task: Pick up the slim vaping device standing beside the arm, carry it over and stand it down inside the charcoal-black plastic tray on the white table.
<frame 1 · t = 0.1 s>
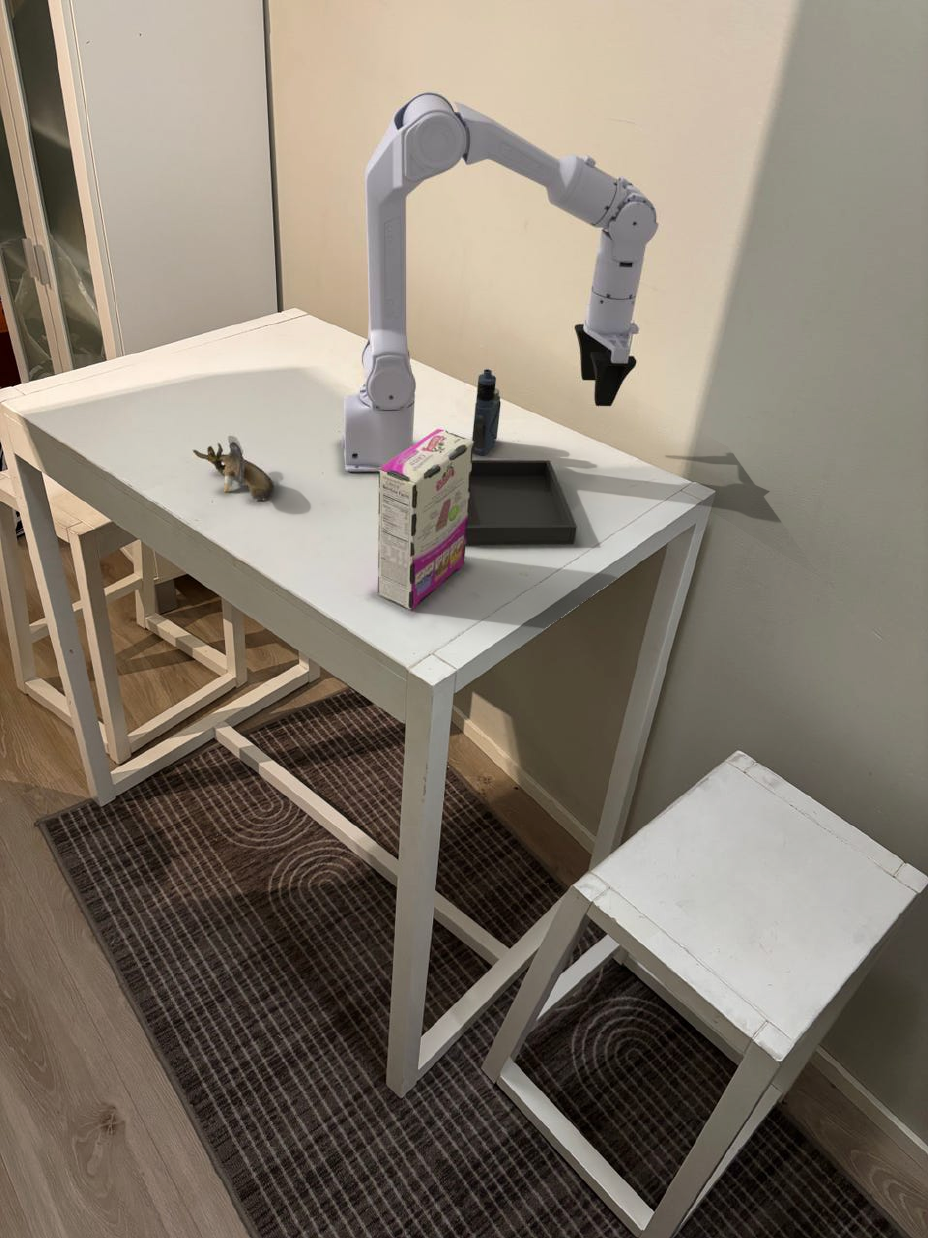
hand: (596, 391, 129), 10 cm above the table, tool pointing down, fingers open, 7 cm apart
antlered animal figurine: (239, 487, 122), on the table
vaping device: (483, 448, 135), on the table
candy bar box: (420, 581, 110), on the table
tray: (506, 508, 123), on the table
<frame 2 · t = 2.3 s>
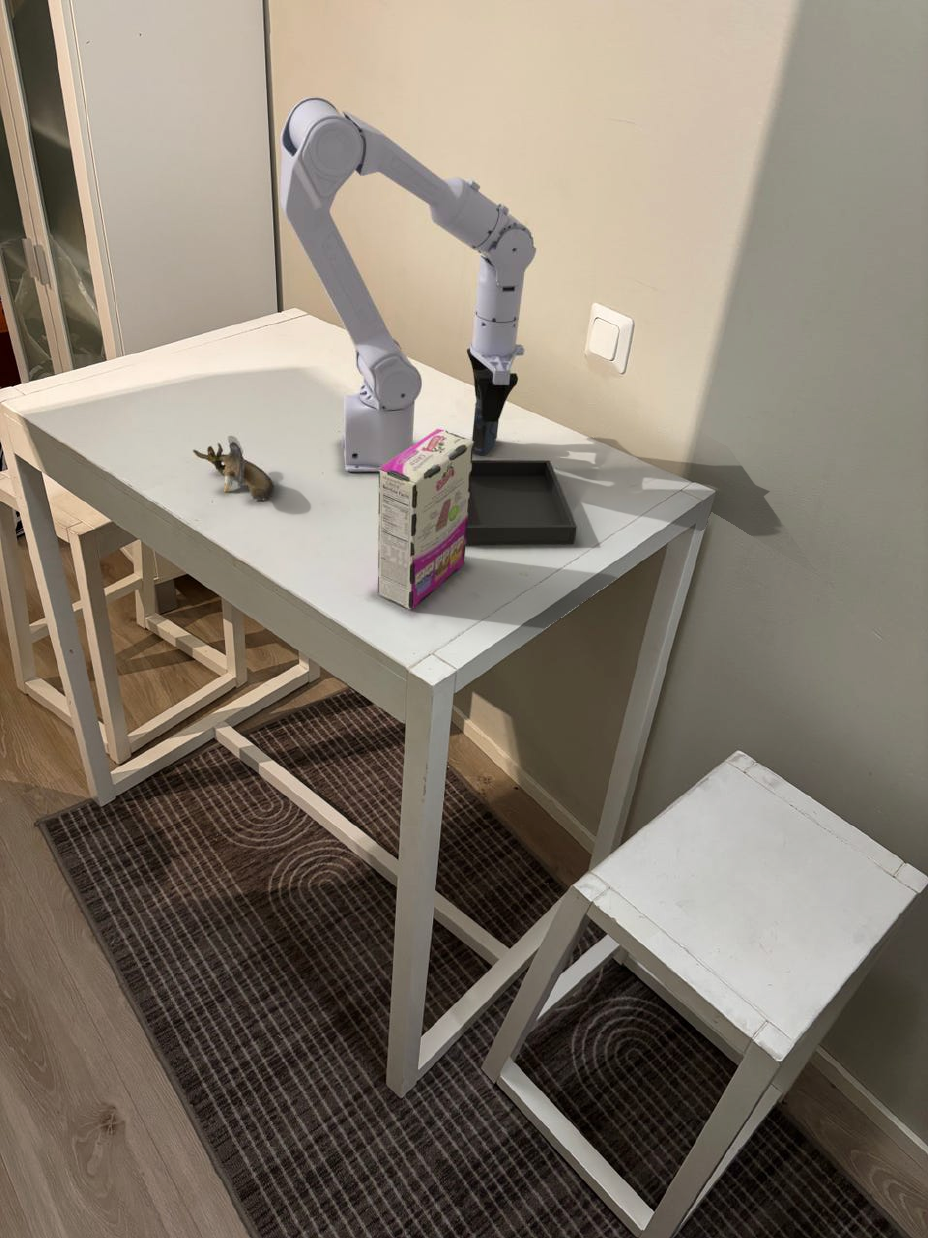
hand: (487, 411, 132), 6 cm above the table, tool pointing down, fingers closed on vaping device, 5 cm apart
vaping device: (483, 448, 135), on the table, touching gripper
everything else where it was.
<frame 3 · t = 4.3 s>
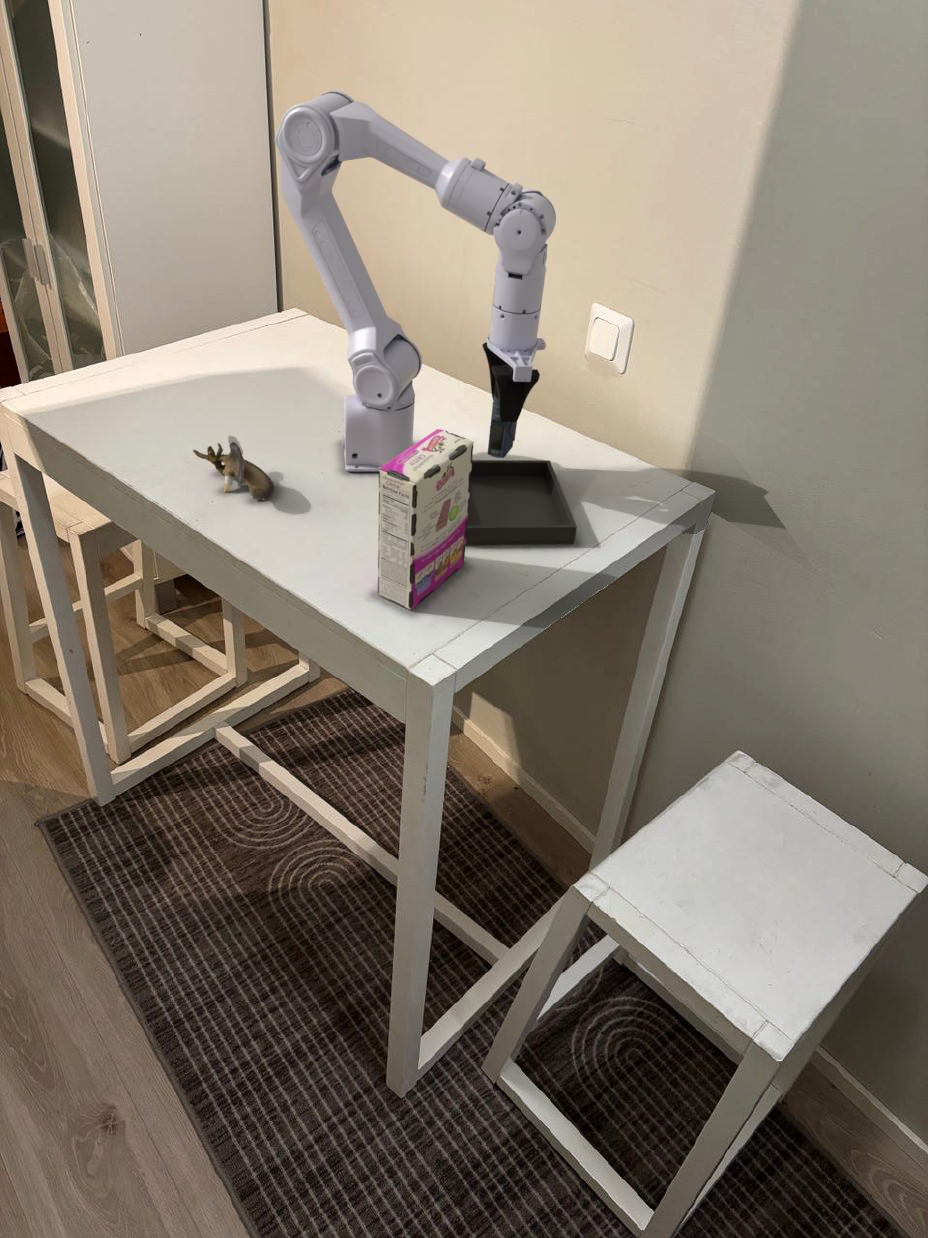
hand: (504, 410, 121), 10 cm above the table, tool pointing down, fingers closed on vaping device, 5 cm apart
vaping device: (500, 451, 125), point 5 cm above the table, touching gripper
everything else where it was.
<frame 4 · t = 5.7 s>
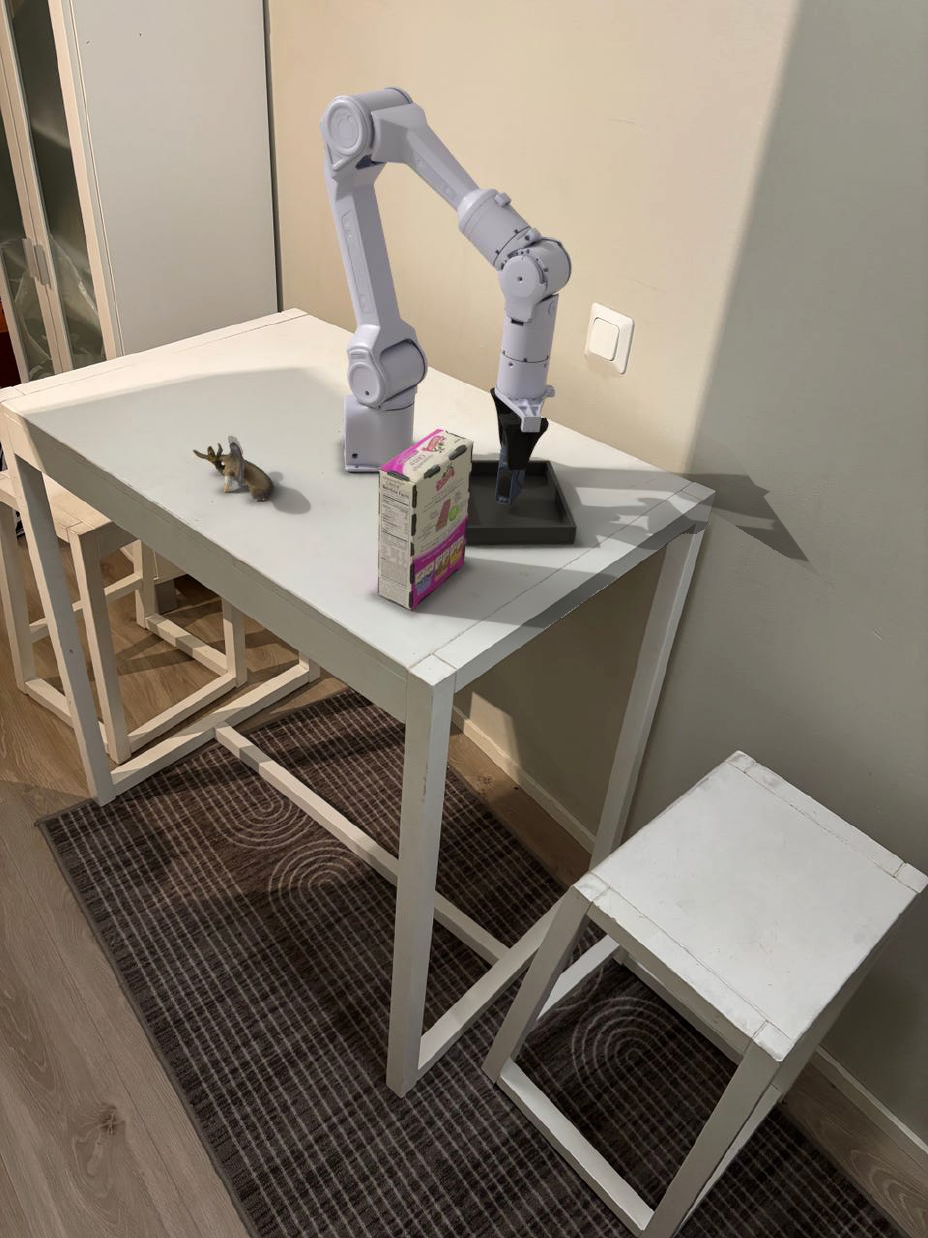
hand: (512, 457, 118), 7 cm above the table, tool pointing down, fingers closed on vaping device, 5 cm apart
vaping device: (507, 497, 122), point 2 cm above the table, touching gripper
everything else where it was.
when the fingers open (6 cm above the table, at t = 6.7 s): vaping device stays where it is, resting on tray.
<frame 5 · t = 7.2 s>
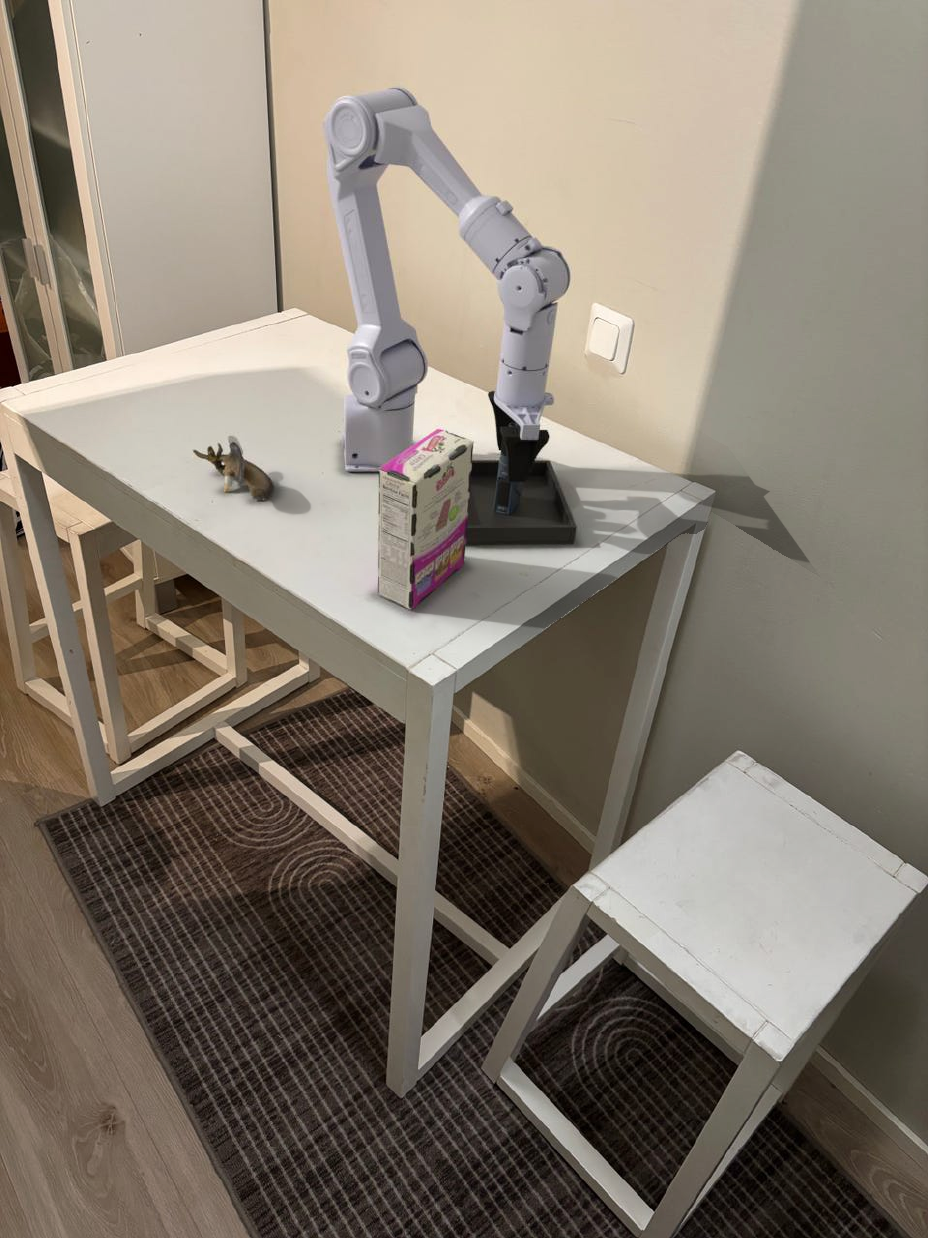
hand: (511, 464, 119), 6 cm above the table, tool pointing down, fingers open, 7 cm apart
vaping device: (506, 506, 123), resting on tray
everything else where it was.
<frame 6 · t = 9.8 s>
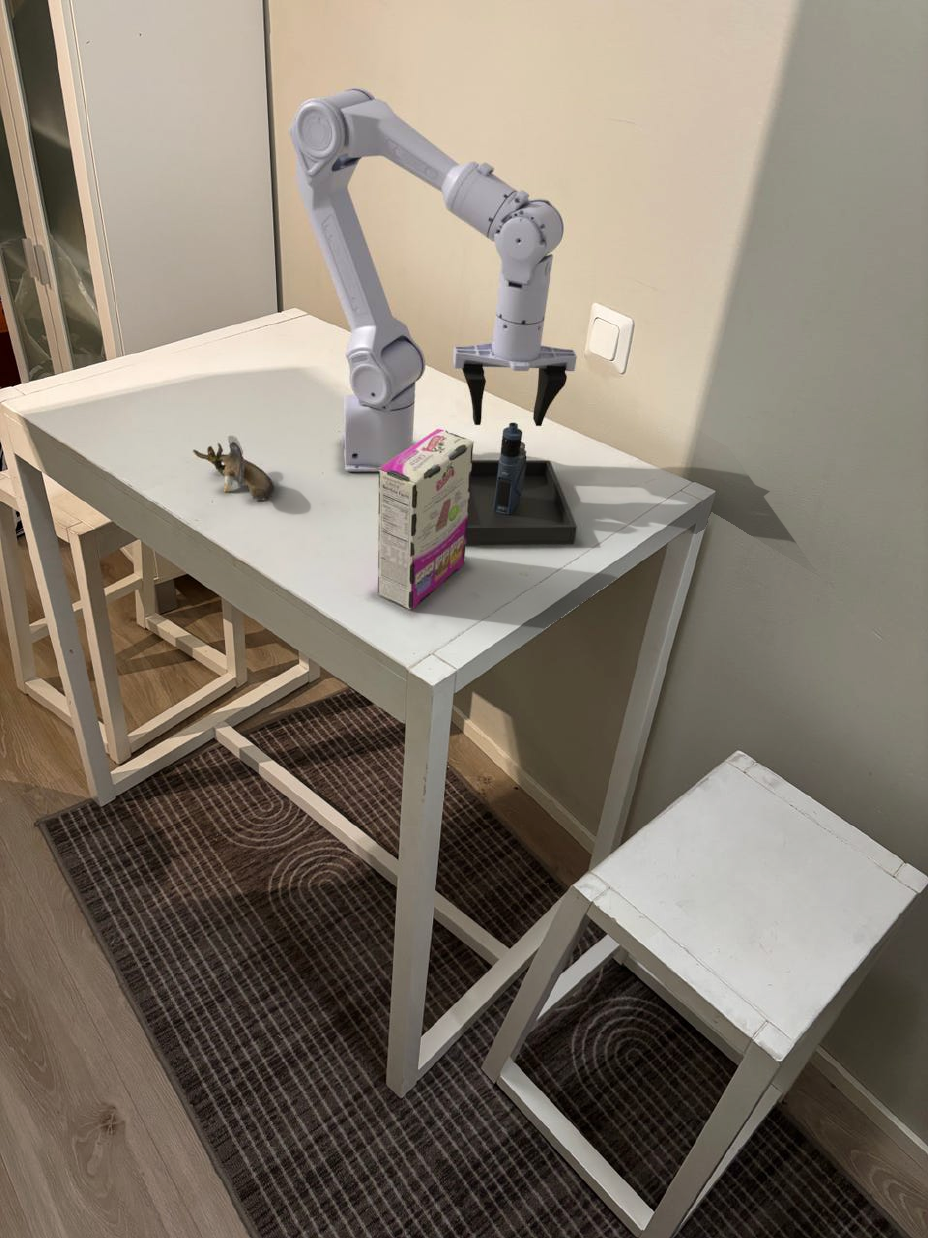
hand: (507, 421, 119), 10 cm above the table, tool pointing down, fingers open, 7 cm apart
nothing on the table moved.
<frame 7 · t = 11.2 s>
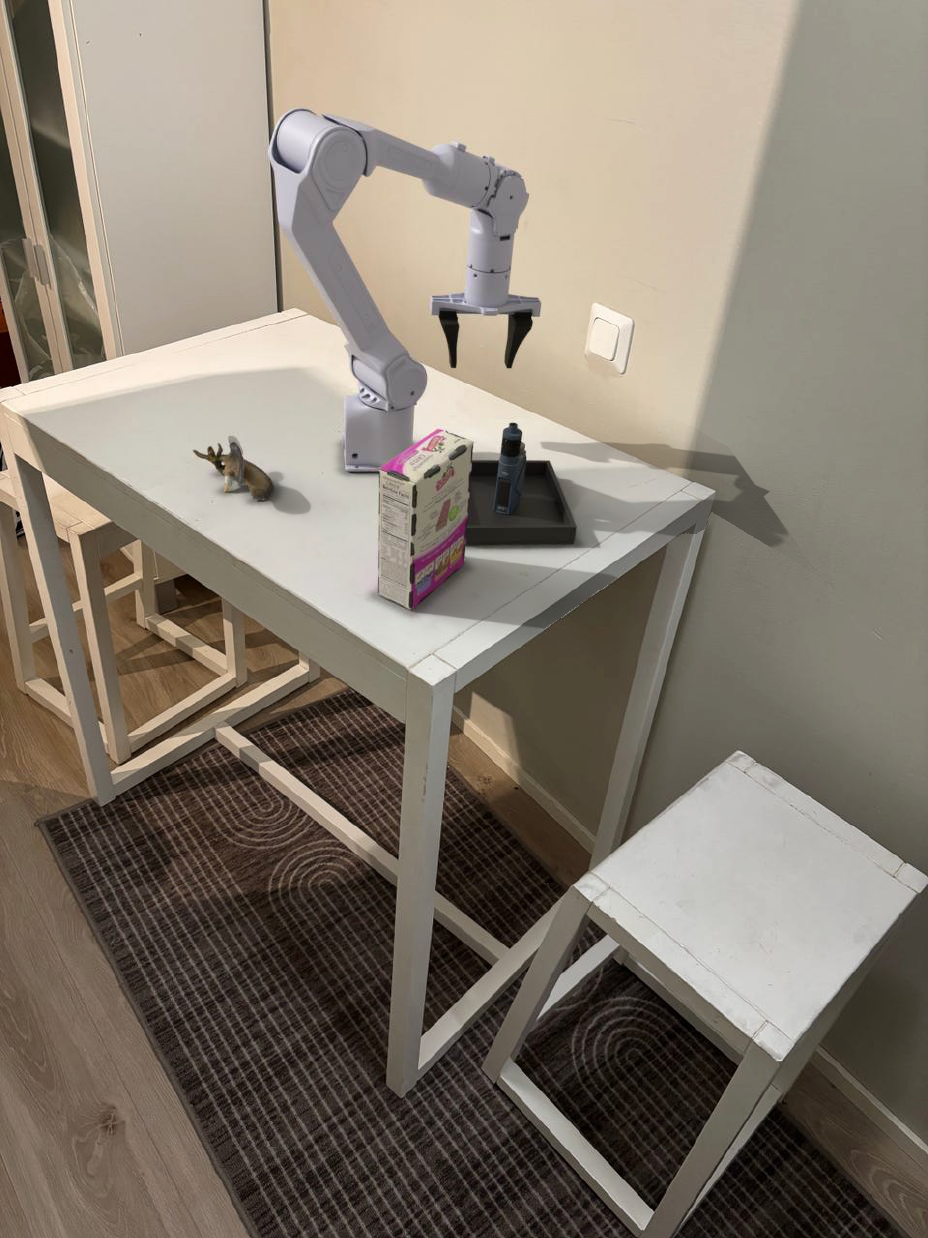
hand: (480, 365, 132), 10 cm above the table, tool pointing down, fingers open, 7 cm apart
nothing on the table moved.
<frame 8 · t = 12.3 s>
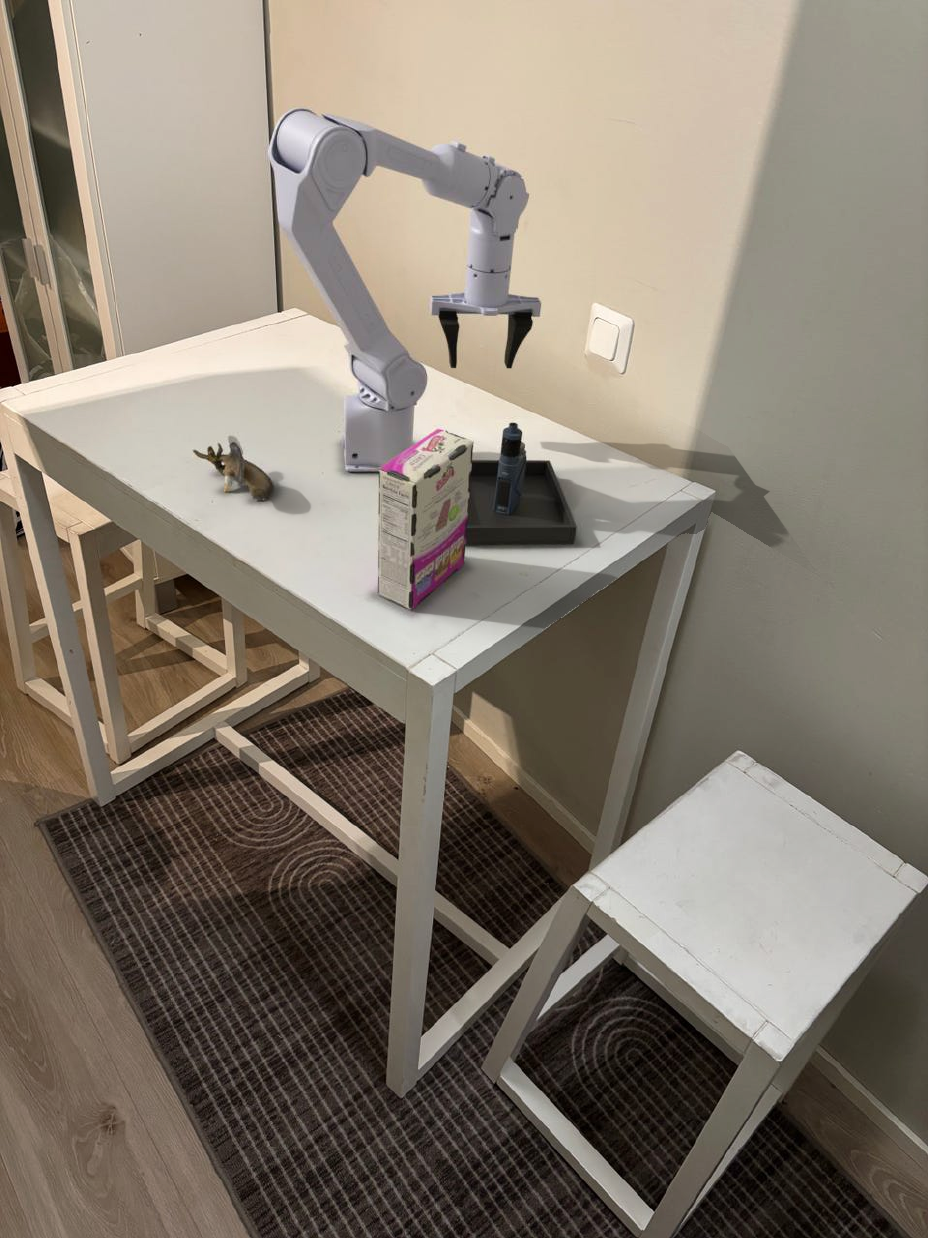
hand: (480, 365, 132), 10 cm above the table, tool pointing down, fingers open, 7 cm apart
nothing on the table moved.
at the end: vaping device inside the target area in the tray (0.1 cm from its centre), point 0.3 cm above the tray's base; the gripper is holding nothing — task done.
